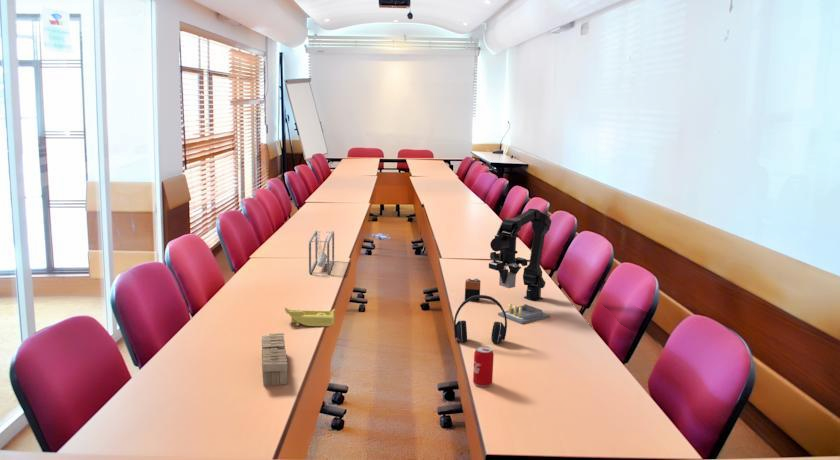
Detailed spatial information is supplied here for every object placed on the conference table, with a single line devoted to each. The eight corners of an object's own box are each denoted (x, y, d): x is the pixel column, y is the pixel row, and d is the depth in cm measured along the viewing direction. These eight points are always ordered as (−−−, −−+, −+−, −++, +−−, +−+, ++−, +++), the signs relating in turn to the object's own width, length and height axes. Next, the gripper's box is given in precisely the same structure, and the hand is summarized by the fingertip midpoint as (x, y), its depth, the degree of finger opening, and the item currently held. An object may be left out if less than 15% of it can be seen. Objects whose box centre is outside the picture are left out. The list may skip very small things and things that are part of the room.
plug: (505, 283, 297) (506, 270, 296) (515, 286, 293) (516, 273, 292) (499, 285, 295) (499, 271, 294) (508, 288, 290) (509, 274, 289)
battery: (479, 301, 305) (480, 280, 303) (464, 300, 306) (465, 279, 304) (479, 299, 309) (480, 278, 307) (465, 298, 310) (465, 277, 308)
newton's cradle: (315, 261, 373) (315, 229, 370) (334, 261, 374) (334, 230, 370) (308, 274, 344) (308, 241, 340) (329, 275, 344) (329, 241, 341)
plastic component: (332, 311, 278) (335, 308, 268) (331, 329, 276) (334, 326, 266) (284, 310, 273) (285, 306, 264) (283, 328, 271) (284, 325, 262)
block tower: (262, 356, 236) (262, 388, 208) (261, 334, 235) (261, 362, 207) (284, 355, 238) (287, 386, 210) (284, 332, 237) (287, 361, 209)
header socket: (525, 308, 296) (526, 296, 295) (549, 317, 286) (550, 304, 285) (498, 315, 286) (498, 302, 285) (521, 324, 275) (522, 311, 274)
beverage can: (479, 378, 220) (480, 344, 218) (495, 383, 217) (497, 348, 214) (469, 384, 215) (470, 349, 213) (486, 389, 212) (487, 354, 209)
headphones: (504, 339, 257) (507, 293, 254) (506, 345, 250) (509, 299, 247) (453, 337, 258) (454, 292, 254) (453, 343, 251) (455, 297, 248)
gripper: (511, 242, 302) (509, 275, 305) (480, 247, 291) (479, 281, 294) (529, 247, 294) (527, 281, 297) (498, 252, 283) (496, 287, 286)
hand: (507, 282), depth 294 cm, fingers closed on plug, 4 cm apart
